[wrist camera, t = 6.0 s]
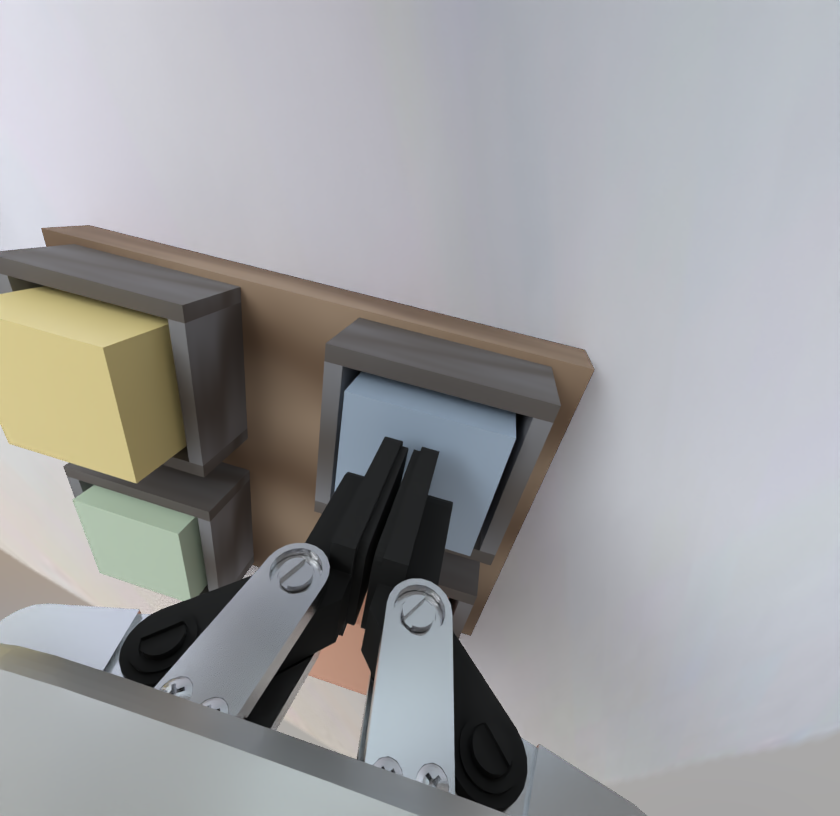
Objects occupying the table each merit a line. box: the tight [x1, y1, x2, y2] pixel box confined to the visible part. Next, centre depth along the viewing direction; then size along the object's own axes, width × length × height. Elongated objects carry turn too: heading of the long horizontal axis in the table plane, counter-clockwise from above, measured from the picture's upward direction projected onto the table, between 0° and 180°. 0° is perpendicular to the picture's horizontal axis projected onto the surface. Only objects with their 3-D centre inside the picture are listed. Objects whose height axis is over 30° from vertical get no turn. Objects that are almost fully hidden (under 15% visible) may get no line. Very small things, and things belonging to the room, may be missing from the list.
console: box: [0, 225, 594, 639], centre depth 18 cm, size 17×22×5 cm
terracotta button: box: [308, 590, 449, 695], centre depth 17 cm, size 5×5×3 cm
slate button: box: [334, 372, 516, 556], centre depth 14 cm, size 5×5×3 cm
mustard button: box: [0, 286, 187, 484], centre depth 14 cm, size 5×5×3 cm
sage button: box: [73, 485, 208, 601], centre depth 20 cm, size 5×5×3 cm
